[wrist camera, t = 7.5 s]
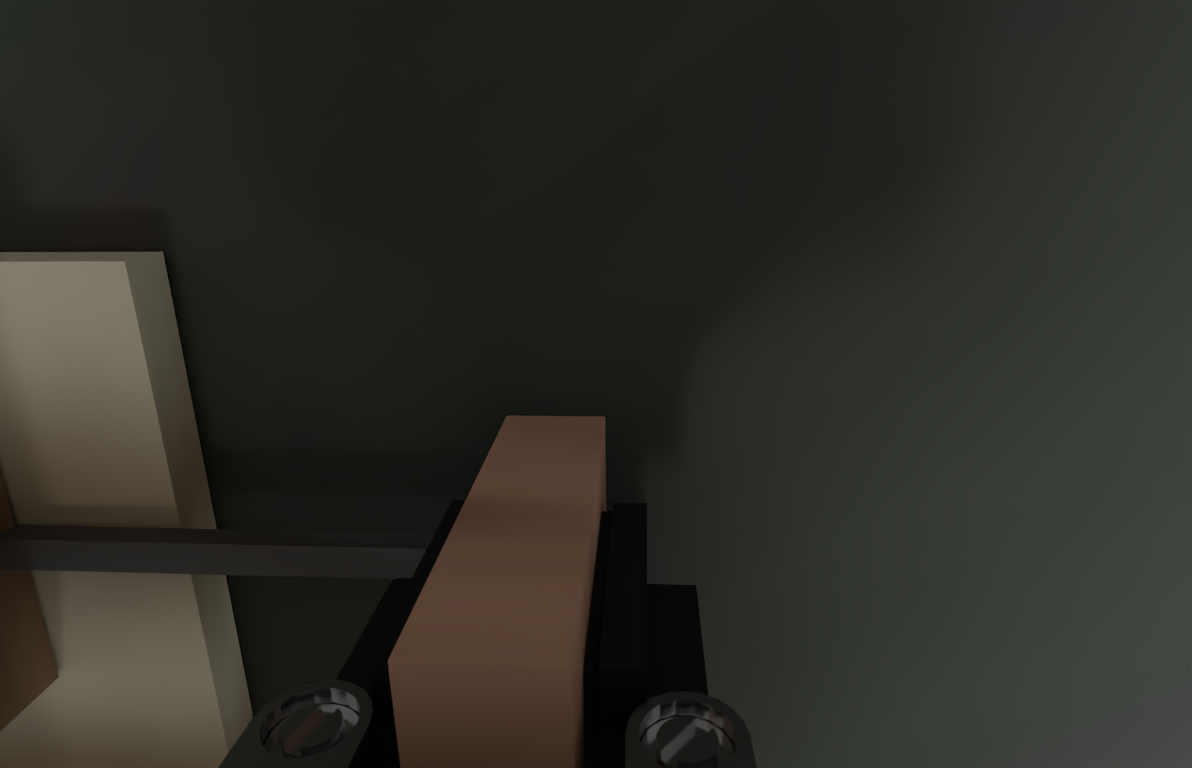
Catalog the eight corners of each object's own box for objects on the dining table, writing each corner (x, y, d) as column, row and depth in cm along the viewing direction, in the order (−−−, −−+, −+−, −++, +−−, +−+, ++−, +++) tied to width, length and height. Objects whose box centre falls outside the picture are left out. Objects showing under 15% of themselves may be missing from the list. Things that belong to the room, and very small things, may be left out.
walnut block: (607, 695, 14) (581, 1083, 8) (-230, 666, 15) (-763, 993, 9) (604, 387, 12) (568, 617, 6) (-355, 378, 13) (-1120, 570, 7)
